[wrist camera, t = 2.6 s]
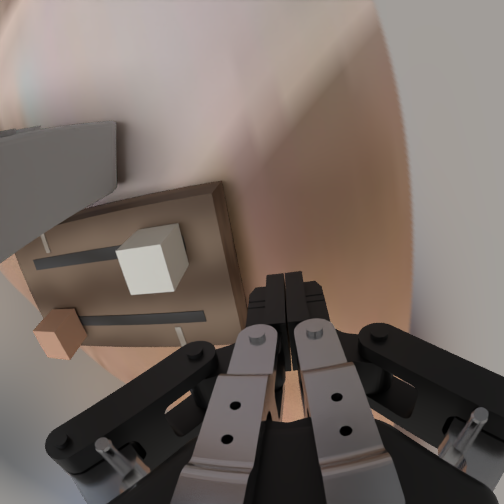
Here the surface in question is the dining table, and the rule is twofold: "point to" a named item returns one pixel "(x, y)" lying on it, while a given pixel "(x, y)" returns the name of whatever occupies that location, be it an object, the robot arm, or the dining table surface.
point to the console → (113, 281)
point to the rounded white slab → (51, 177)
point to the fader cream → (153, 259)
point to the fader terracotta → (60, 333)
